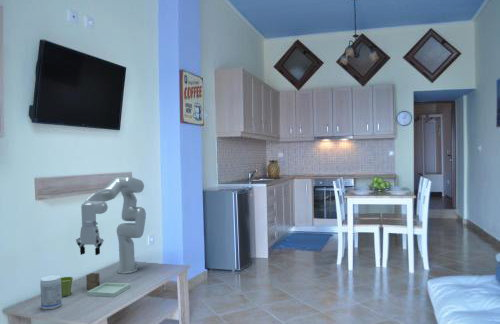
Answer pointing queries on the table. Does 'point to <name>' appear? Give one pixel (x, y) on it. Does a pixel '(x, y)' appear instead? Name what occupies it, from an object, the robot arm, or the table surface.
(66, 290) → the plant pot
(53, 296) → the supplement tub
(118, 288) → the sage tray
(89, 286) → the walnut block
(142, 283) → the table surface
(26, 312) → the table surface
